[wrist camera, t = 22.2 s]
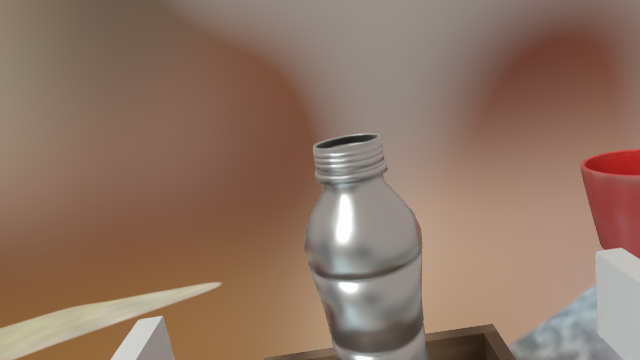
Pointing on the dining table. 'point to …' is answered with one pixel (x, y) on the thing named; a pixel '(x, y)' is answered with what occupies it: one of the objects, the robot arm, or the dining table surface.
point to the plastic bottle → (365, 254)
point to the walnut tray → (440, 346)
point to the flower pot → (615, 198)
